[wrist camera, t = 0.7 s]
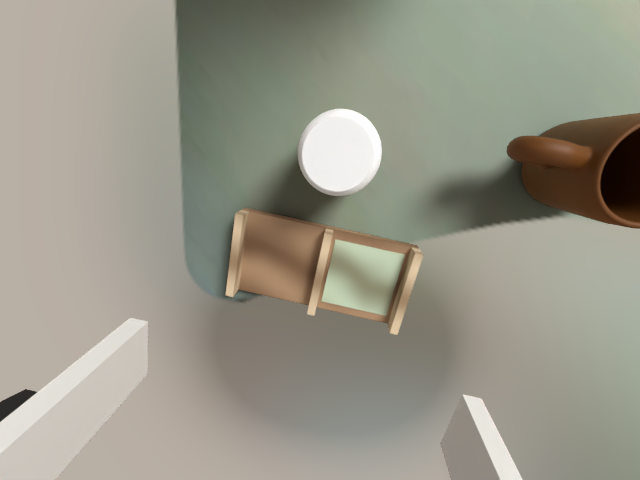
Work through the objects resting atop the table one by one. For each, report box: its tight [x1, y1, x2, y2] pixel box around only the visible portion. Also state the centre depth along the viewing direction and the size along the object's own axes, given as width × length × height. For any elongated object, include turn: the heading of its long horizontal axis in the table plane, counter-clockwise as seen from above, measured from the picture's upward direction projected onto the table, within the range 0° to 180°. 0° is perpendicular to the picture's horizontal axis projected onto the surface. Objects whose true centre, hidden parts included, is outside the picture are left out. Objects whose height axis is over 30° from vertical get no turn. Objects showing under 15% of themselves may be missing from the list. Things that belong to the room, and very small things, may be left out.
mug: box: [507, 113, 640, 228], centre depth 24 cm, size 12×8×9 cm, turn 78°
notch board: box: [226, 208, 423, 335], centre depth 32 cm, size 9×18×3 cm, turn 79°
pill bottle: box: [298, 109, 382, 196], centre depth 24 cm, size 6×6×11 cm
